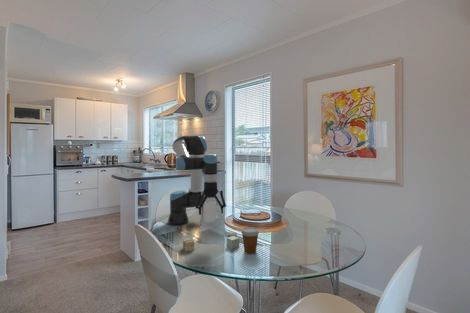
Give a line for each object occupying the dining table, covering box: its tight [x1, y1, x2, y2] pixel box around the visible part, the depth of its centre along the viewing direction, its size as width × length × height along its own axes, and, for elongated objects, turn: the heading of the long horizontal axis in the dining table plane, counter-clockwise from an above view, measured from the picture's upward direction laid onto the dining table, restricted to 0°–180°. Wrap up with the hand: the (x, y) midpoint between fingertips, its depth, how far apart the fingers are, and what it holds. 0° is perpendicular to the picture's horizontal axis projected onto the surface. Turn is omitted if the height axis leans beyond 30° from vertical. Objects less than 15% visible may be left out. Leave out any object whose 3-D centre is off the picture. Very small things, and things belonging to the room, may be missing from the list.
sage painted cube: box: [226, 236, 240, 250], centre depth 154 cm, size 5×5×5 cm
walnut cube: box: [227, 231, 238, 238], centre depth 161 cm, size 5×5×5 cm
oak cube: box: [182, 237, 195, 252], centre depth 151 cm, size 5×5×5 cm
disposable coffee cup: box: [241, 226, 260, 255], centre depth 147 cm, size 10×10×12 cm
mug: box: [202, 200, 222, 223], centre depth 156 cm, size 9×12×11 cm
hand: (211, 219), depth 156 cm, fingers closed on mug, 10 cm apart
